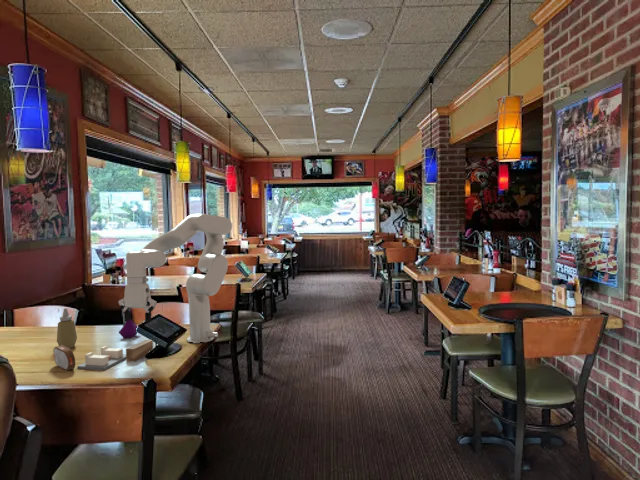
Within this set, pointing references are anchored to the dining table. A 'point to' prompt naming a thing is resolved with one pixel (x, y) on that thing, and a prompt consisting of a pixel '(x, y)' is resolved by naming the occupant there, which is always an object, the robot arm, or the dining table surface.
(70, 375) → the dining table surface
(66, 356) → the tin
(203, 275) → the robot arm
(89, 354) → the stand
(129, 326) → the perfume bottle
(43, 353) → the dining table surface
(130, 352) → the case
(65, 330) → the squeeze bottle
